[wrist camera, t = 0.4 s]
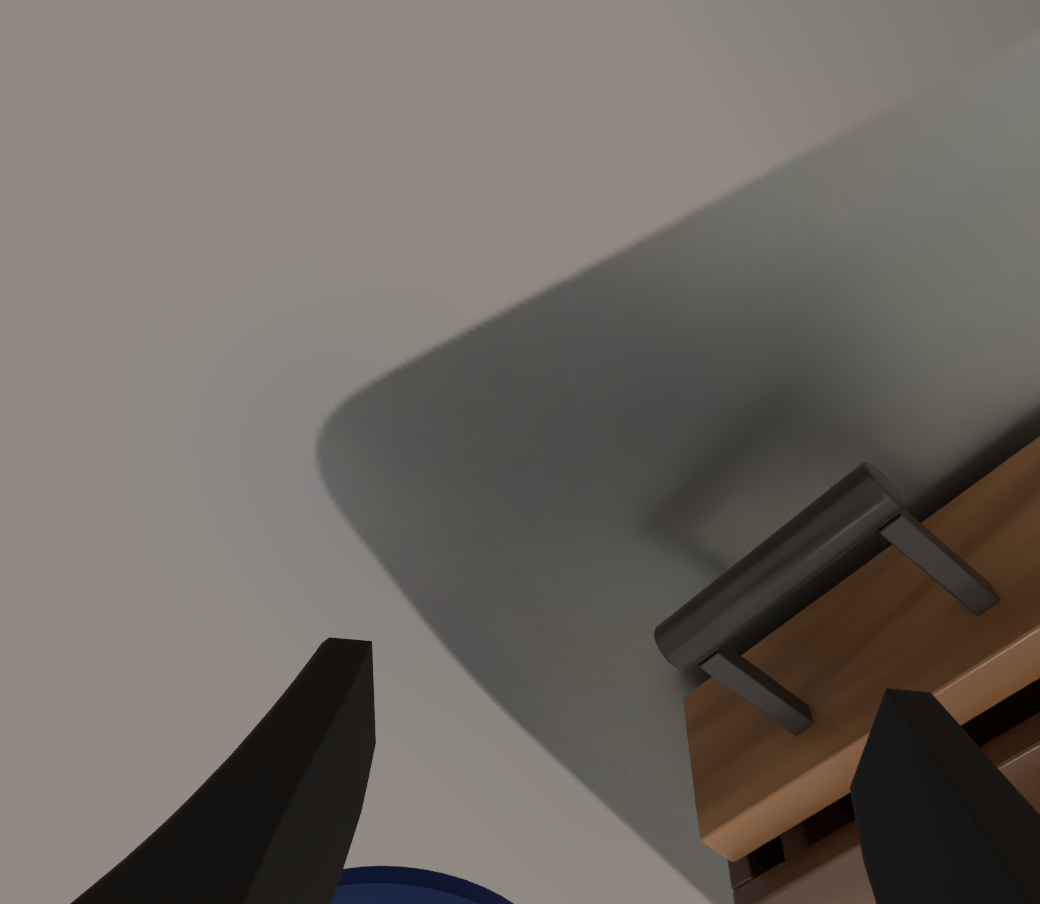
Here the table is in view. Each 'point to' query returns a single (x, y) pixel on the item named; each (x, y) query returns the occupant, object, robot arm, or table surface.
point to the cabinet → (838, 858)
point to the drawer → (856, 648)
